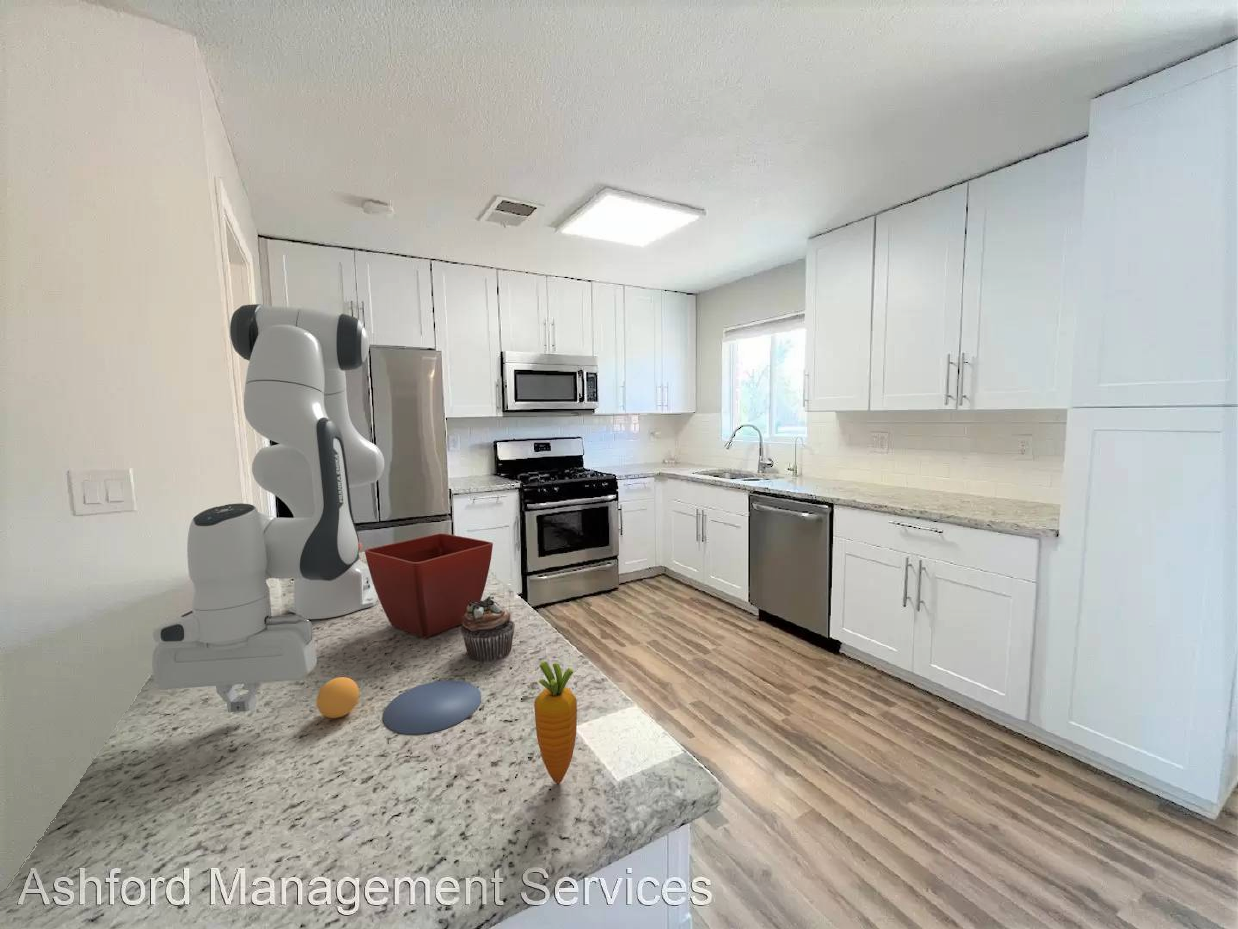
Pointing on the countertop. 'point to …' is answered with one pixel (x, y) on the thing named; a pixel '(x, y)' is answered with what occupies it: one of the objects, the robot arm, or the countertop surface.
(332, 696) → the ball
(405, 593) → the plant pot
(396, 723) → the disc
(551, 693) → the carrot
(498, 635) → the cupcake
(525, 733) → the countertop surface
